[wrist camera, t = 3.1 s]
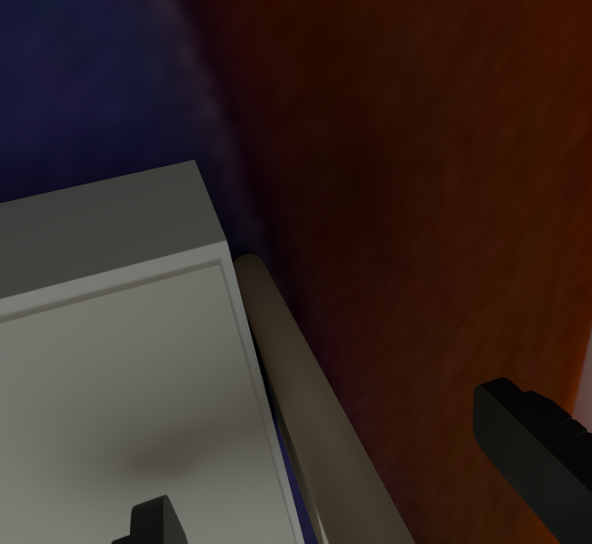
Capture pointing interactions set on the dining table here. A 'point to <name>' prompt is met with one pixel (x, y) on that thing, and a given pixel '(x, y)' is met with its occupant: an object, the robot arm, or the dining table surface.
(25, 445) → the carton
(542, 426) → the robot arm
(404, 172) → the dining table surface
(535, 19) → the dining table surface
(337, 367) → the dining table surface
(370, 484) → the flap
